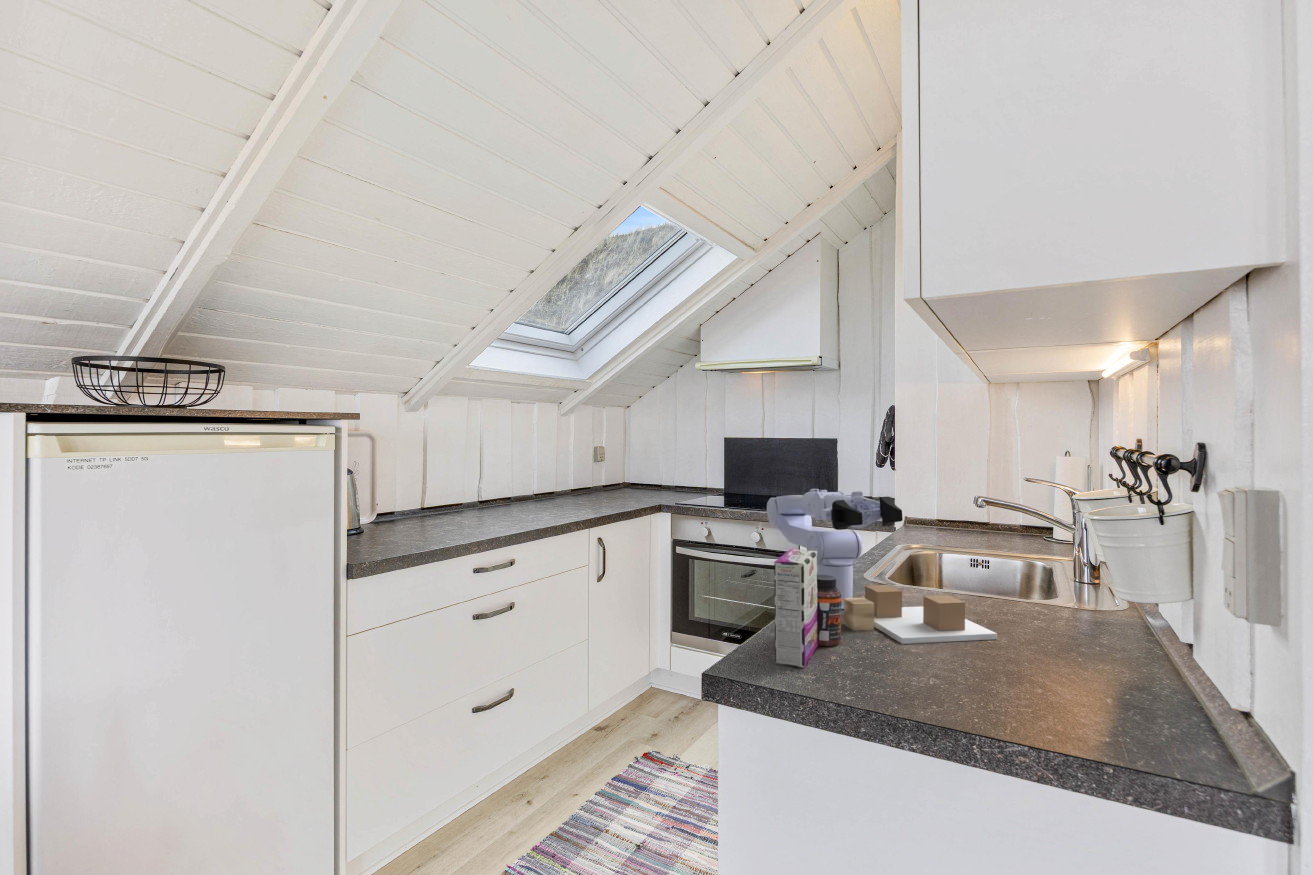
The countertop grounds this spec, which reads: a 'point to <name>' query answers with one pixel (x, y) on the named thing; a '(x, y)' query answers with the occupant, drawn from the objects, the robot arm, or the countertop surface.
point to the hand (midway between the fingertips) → (880, 516)
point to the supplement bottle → (828, 611)
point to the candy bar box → (796, 607)
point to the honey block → (859, 614)
